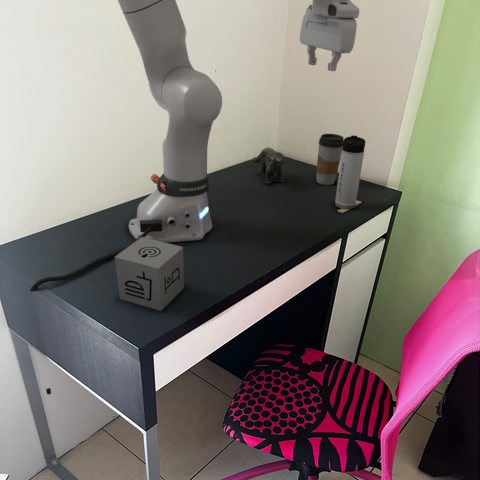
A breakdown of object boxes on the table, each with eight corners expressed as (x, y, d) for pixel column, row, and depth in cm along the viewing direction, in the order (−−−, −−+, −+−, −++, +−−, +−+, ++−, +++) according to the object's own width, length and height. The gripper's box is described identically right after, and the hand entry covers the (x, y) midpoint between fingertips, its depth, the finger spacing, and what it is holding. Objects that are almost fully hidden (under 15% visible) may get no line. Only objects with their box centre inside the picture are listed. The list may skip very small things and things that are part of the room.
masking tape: (342, 213, 144) (342, 212, 144) (337, 211, 145) (337, 210, 145) (362, 202, 152) (362, 201, 151) (356, 200, 153) (356, 200, 152)
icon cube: (161, 311, 98) (158, 268, 93) (119, 298, 101) (114, 256, 96) (184, 287, 106) (183, 247, 100) (145, 277, 109) (141, 236, 103)
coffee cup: (309, 178, 167) (315, 133, 158) (330, 176, 169) (338, 132, 160) (319, 187, 161) (326, 141, 152) (341, 185, 163) (349, 140, 154)
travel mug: (354, 201, 151) (364, 135, 140) (356, 209, 146) (367, 141, 134) (334, 200, 152) (343, 134, 140) (335, 208, 146) (344, 140, 135)
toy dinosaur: (251, 168, 173) (253, 135, 166) (273, 167, 174) (276, 135, 168) (264, 190, 155) (267, 155, 149) (289, 190, 157) (293, 155, 150)
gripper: (297, 3, 128) (291, 61, 137) (343, 10, 114) (333, 74, 122) (317, 4, 131) (310, 61, 139) (364, 10, 116) (353, 73, 124)
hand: (321, 67), depth 130 cm, fingers open, 8 cm apart
